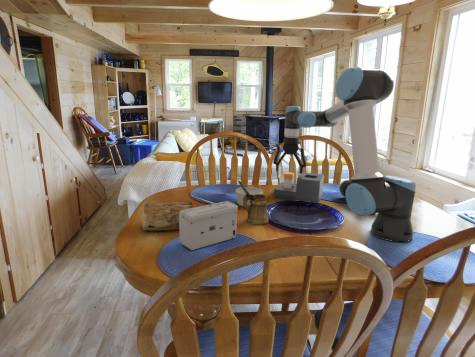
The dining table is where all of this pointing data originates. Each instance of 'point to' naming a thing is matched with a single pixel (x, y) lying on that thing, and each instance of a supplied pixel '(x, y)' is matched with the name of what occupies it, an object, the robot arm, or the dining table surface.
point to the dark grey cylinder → (344, 187)
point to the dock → (302, 188)
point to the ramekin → (241, 193)
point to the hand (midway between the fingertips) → (288, 178)
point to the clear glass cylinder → (288, 180)
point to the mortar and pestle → (255, 207)
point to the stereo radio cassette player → (207, 224)
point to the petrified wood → (163, 215)
